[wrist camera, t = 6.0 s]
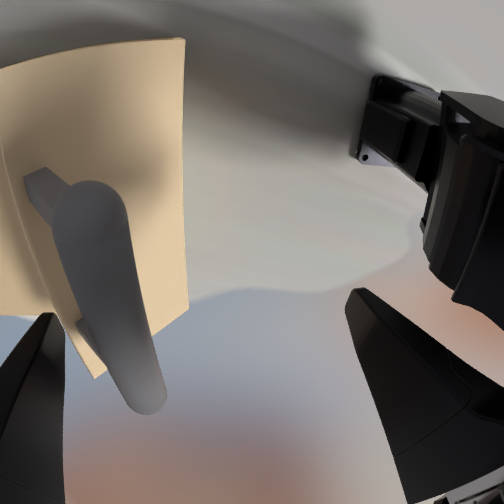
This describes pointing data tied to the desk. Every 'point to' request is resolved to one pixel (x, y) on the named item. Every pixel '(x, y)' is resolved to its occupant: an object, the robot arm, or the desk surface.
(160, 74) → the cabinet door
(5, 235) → the kraft carton
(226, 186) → the desk surface
